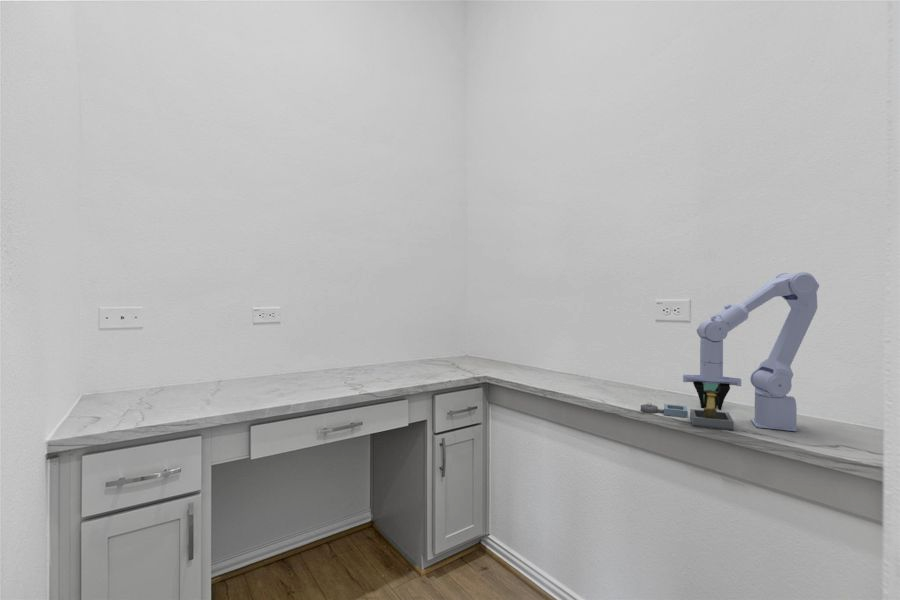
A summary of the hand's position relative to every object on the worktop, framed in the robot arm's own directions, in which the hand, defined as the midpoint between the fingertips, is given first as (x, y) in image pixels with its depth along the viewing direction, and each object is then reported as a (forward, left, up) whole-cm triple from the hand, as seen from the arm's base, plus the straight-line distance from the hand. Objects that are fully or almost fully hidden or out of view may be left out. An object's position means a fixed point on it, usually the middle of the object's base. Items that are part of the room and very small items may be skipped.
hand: (711, 408), depth 130 cm
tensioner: (+12, -7, -4) cm, 15 cm away
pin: (0, 0, -3) cm, 3 cm away
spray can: (-2, -21, -5) cm, 22 cm away
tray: (0, 0, -4) cm, 4 cm away
